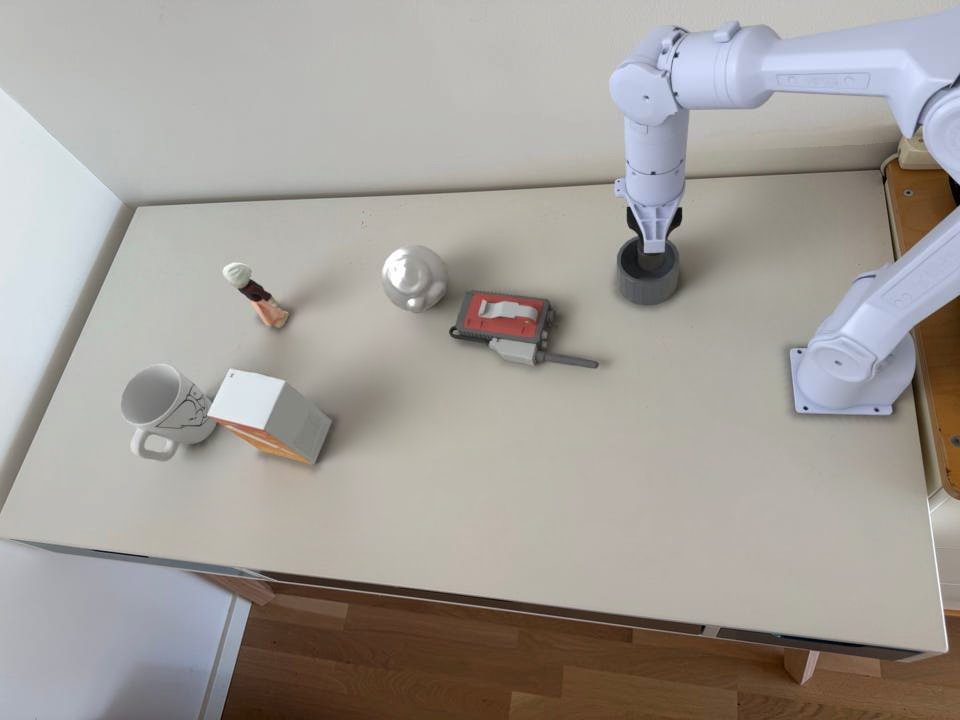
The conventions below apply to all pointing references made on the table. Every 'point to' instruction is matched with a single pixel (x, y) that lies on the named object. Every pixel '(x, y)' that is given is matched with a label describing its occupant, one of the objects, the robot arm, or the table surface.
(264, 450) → the small box
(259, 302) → the grandmother figurine
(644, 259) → the brush
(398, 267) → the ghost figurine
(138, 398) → the mug
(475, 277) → the table surface
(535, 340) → the walkie-talkie
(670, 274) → the cylindrical container
